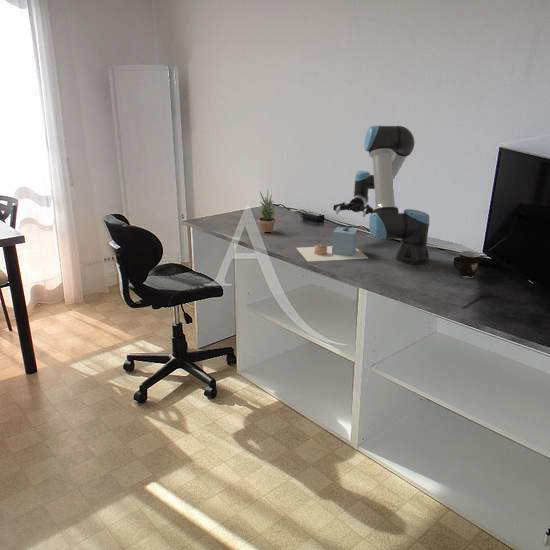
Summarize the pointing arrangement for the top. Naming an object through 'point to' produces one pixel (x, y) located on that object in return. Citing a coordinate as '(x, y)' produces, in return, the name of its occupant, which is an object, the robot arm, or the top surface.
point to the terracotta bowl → (320, 250)
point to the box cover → (344, 241)
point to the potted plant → (267, 215)
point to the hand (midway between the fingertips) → (350, 212)
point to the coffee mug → (468, 263)
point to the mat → (328, 254)
